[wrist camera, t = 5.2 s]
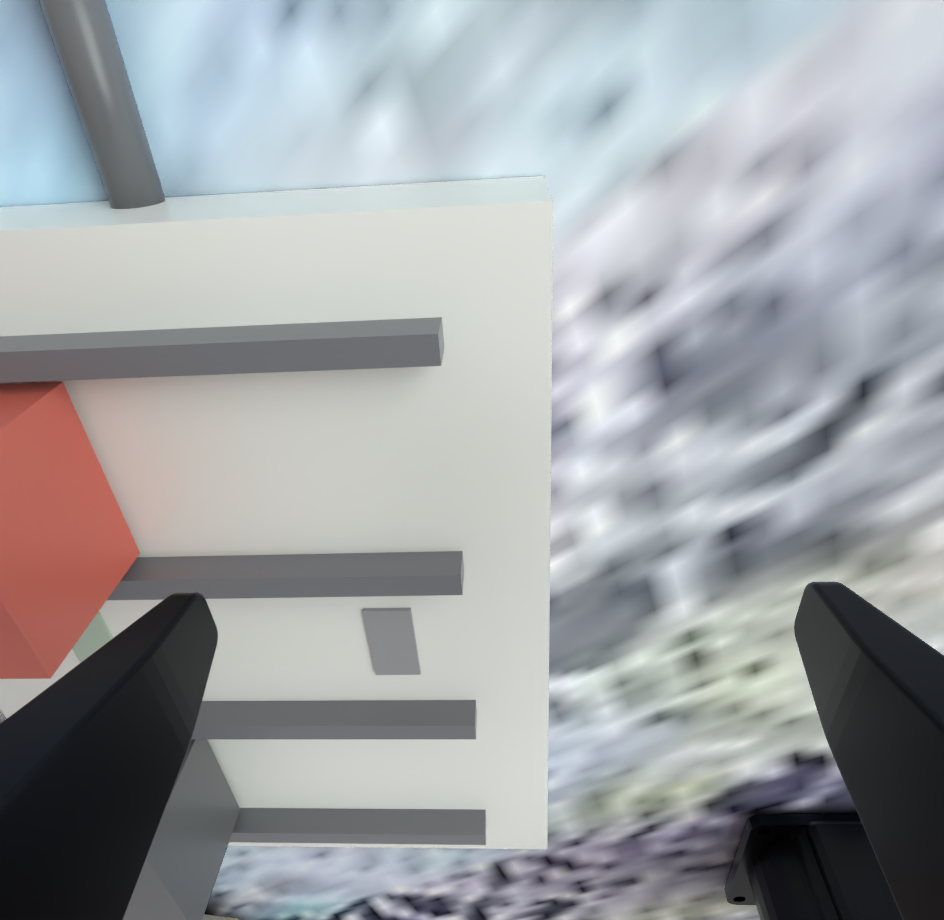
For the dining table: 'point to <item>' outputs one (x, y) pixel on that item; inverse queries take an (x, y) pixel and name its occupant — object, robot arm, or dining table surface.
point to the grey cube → (187, 842)
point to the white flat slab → (314, 467)
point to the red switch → (52, 530)
